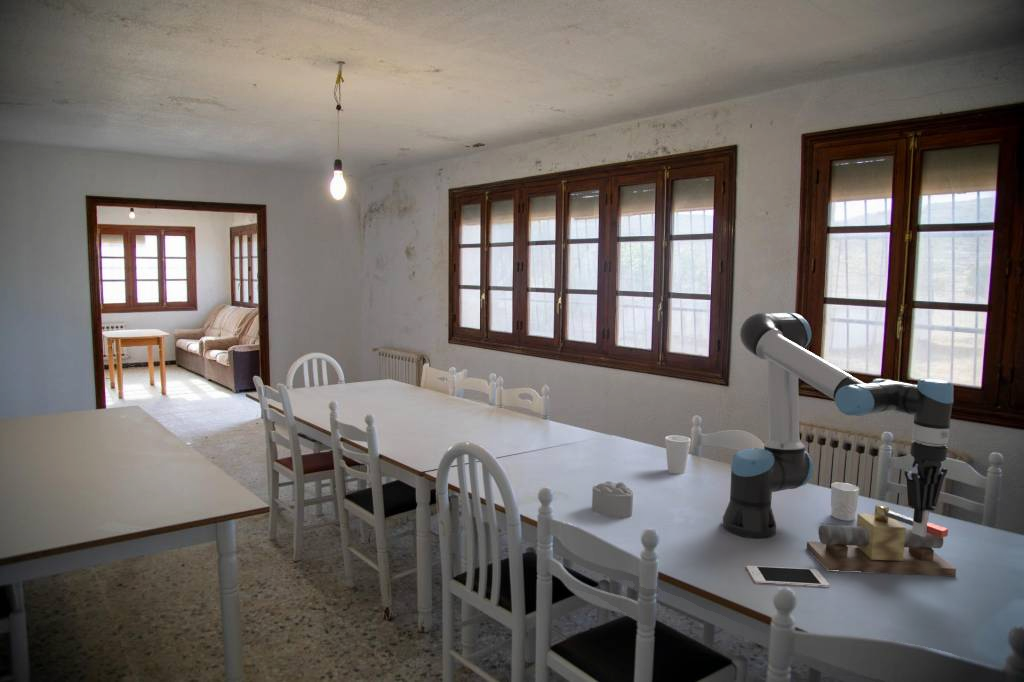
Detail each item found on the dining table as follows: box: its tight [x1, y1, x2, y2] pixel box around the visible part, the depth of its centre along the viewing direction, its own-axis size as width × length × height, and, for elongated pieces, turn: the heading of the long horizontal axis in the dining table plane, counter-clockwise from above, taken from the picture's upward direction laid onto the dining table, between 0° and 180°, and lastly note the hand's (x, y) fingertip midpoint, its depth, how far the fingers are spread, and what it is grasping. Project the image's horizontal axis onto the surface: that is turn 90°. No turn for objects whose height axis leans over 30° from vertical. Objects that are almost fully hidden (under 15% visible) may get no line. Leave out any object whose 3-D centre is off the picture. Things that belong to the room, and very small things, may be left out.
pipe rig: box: [806, 513, 957, 577], centre depth 174 cm, size 32×14×12 cm, turn 87°
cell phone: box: [745, 565, 830, 587], centre depth 165 cm, size 9×18×1 cm, turn 85°
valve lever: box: [874, 504, 949, 539], centre depth 167 cm, size 3×18×3 cm, turn 27°
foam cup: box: [664, 434, 692, 475], centre depth 249 cm, size 10×9×13 cm
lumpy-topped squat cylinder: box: [591, 481, 634, 519], centre depth 208 cm, size 10×13×9 cm
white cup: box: [830, 481, 860, 522], centre depth 206 cm, size 8×8×10 cm
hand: (919, 534), depth 163 cm, fingers closed
